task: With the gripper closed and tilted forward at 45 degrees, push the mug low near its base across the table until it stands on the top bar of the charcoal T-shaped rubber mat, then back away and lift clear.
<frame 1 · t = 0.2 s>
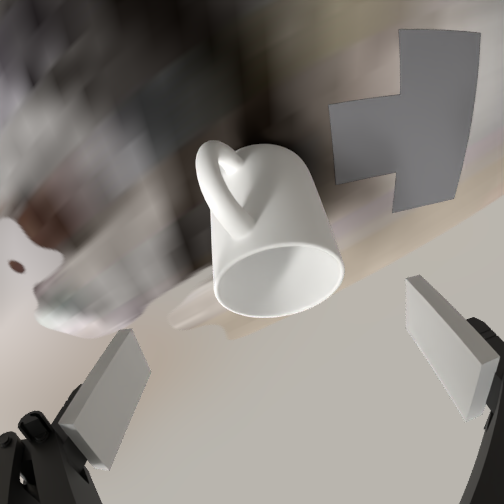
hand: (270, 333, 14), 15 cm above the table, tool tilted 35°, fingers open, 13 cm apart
mug: (247, 165, 25), on the table
t mat: (388, 137, 24), on the table
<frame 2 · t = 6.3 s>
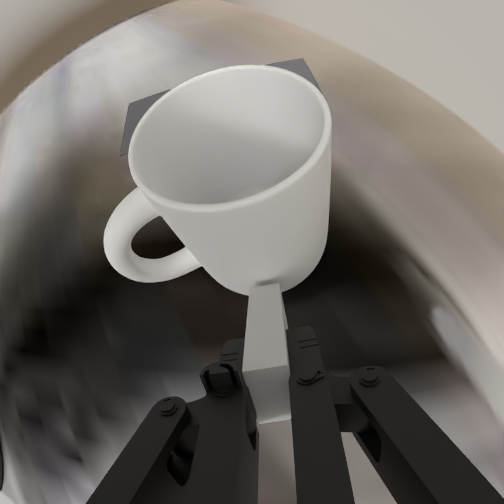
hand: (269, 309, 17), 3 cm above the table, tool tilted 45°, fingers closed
mug: (238, 253, 21), on the table, touching gripper
t mat: (219, 132, 26), on the table
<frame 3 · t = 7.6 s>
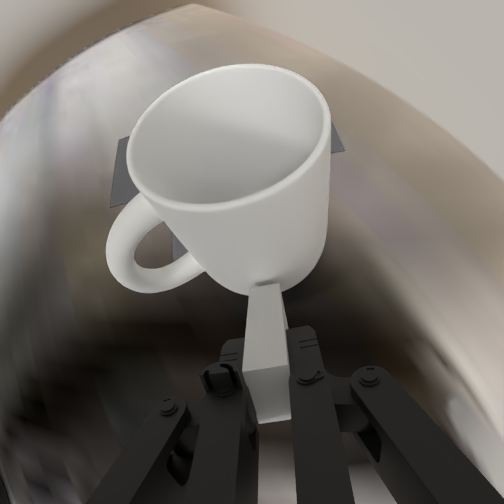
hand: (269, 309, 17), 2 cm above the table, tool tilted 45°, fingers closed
mug: (238, 255, 21), on the table, touching gripper
t mat: (222, 186, 23), on the table
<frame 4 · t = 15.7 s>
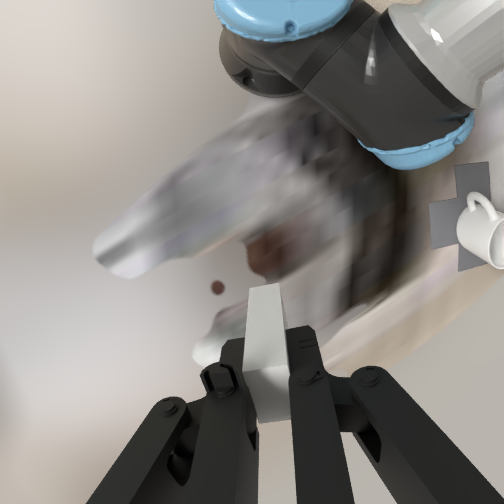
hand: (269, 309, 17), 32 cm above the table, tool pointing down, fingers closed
mug: (468, 216, 47), resting on t mat
t mat: (454, 221, 47), on the table
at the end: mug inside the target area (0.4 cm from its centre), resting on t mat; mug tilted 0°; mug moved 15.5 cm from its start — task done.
